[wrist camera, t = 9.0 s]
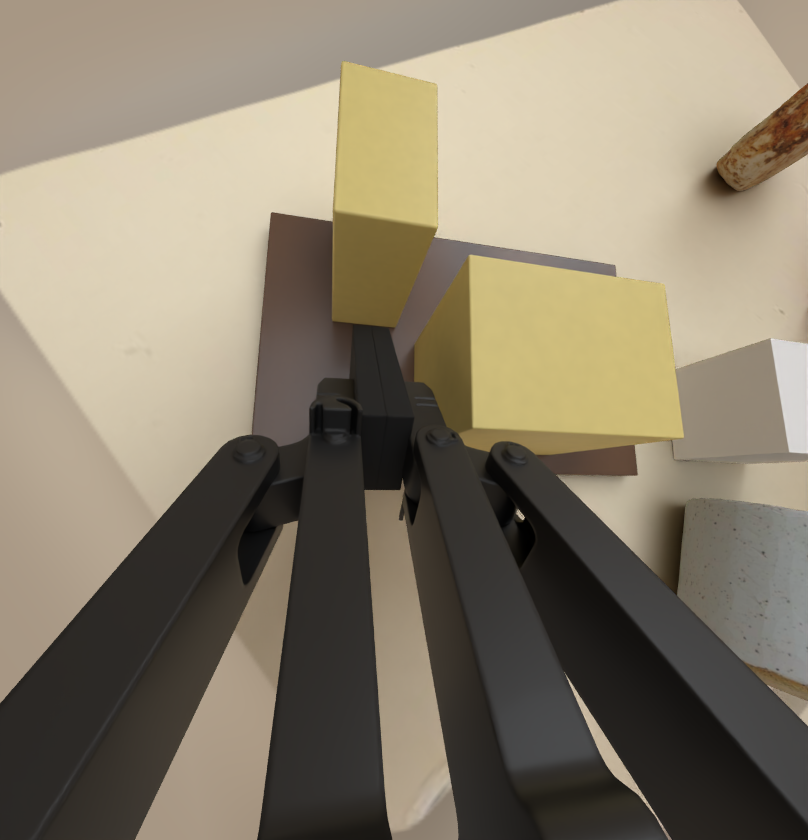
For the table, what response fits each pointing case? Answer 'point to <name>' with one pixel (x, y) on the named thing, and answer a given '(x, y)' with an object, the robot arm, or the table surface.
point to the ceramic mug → (751, 584)
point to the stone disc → (769, 145)
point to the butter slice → (382, 192)
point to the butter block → (551, 359)
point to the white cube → (746, 405)
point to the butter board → (331, 341)
